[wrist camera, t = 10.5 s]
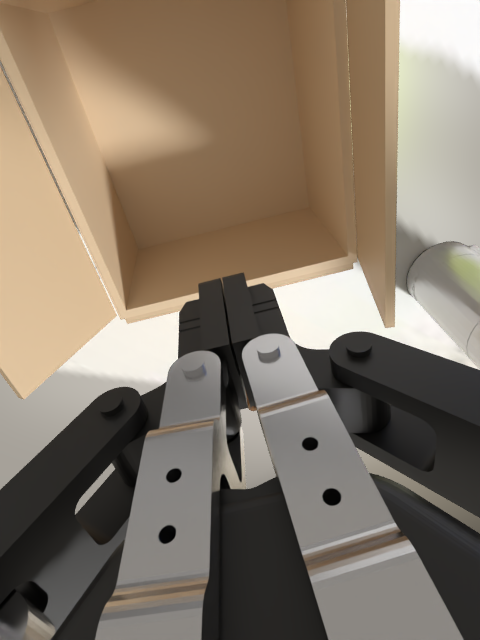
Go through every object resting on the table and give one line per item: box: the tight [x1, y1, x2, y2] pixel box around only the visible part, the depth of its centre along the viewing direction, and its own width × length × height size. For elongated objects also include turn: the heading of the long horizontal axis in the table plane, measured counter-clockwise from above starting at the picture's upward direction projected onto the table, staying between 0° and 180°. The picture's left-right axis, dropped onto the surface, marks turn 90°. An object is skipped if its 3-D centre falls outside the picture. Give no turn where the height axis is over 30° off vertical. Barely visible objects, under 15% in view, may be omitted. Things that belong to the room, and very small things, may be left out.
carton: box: [0, 0, 357, 324], centre depth 36 cm, size 22×25×14 cm
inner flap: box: [346, 0, 400, 328], centre depth 25 cm, size 10×23×1 cm
